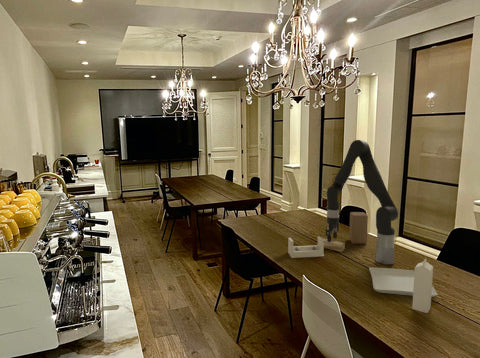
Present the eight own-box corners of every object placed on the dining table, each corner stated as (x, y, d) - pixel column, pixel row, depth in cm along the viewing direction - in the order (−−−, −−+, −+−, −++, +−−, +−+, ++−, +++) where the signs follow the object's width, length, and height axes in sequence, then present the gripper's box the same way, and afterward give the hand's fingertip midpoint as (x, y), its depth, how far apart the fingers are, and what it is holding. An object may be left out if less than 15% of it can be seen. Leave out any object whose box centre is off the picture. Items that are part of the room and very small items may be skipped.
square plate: (423, 277, 180) (423, 270, 179) (438, 302, 154) (438, 294, 153) (368, 272, 187) (368, 265, 187) (373, 295, 161) (373, 288, 161)
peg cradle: (324, 256, 211) (324, 240, 209) (291, 257, 209) (291, 242, 207) (319, 250, 221) (319, 235, 219) (287, 252, 219) (287, 237, 217)
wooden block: (363, 239, 241) (364, 211, 238) (367, 244, 231) (368, 215, 228) (348, 239, 242) (349, 211, 239) (352, 244, 232) (352, 215, 229)
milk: (430, 308, 149) (434, 259, 146) (427, 313, 144) (431, 263, 141) (415, 303, 153) (418, 256, 150) (411, 309, 148) (415, 260, 145)
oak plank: (341, 252, 218) (341, 244, 217) (319, 247, 227) (320, 240, 227) (344, 250, 222) (344, 242, 221) (322, 245, 231) (323, 238, 230)
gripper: (333, 219, 214) (332, 244, 216) (343, 214, 225) (342, 238, 227) (322, 217, 219) (321, 241, 221) (332, 212, 229) (331, 236, 232)
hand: (332, 240), depth 224 cm, fingers open, 8 cm apart
